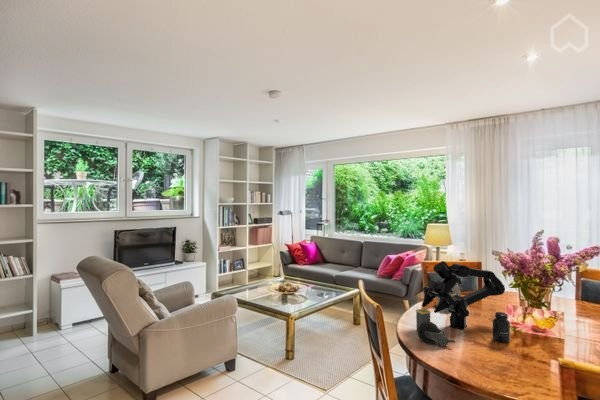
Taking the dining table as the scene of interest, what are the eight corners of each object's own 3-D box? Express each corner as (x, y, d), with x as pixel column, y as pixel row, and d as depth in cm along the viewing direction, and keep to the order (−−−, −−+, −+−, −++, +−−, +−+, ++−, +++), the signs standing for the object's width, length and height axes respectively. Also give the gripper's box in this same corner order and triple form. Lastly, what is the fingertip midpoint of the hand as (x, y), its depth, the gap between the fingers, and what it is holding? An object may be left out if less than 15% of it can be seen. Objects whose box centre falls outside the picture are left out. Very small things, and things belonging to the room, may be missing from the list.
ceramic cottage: (444, 301, 218) (443, 277, 217) (468, 309, 204) (468, 284, 203) (427, 307, 209) (426, 282, 209) (451, 316, 195) (451, 289, 195)
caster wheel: (417, 345, 156) (454, 349, 148) (415, 323, 156) (451, 325, 149) (420, 340, 161) (456, 344, 153) (418, 319, 161) (453, 321, 153)
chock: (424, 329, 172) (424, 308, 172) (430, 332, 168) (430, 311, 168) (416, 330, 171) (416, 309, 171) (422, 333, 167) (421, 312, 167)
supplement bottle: (503, 344, 153) (503, 317, 153) (489, 339, 159) (488, 312, 159) (513, 341, 156) (513, 314, 156) (498, 336, 162) (498, 310, 162)
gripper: (425, 270, 181) (406, 293, 178) (450, 278, 163) (430, 304, 160) (438, 284, 183) (420, 308, 180) (464, 293, 165) (445, 319, 162)
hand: (428, 309), depth 170 cm, fingers open, 9 cm apart
